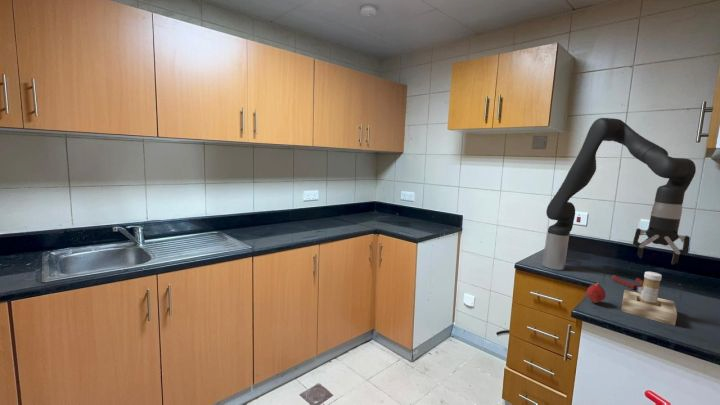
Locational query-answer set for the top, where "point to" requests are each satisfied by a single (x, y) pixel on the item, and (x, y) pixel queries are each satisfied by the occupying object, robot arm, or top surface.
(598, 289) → the onion
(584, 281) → the top surface
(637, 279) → the pliers
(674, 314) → the holder
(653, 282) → the sprinkles bottle
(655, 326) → the top surface
